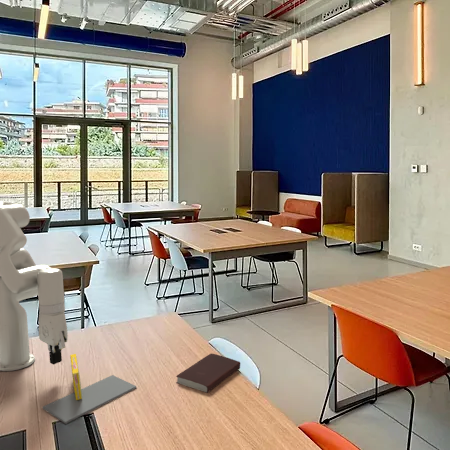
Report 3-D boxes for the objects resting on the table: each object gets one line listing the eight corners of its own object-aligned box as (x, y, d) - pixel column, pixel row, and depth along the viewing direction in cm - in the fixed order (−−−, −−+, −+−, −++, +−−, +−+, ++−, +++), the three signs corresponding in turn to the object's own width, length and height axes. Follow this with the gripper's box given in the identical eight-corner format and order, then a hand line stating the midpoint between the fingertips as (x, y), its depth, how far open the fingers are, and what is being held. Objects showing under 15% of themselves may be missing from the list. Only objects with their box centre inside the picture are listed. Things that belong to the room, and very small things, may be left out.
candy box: (72, 379, 140) (70, 354, 140) (79, 377, 141) (77, 353, 140) (74, 400, 125) (72, 373, 125) (82, 399, 126) (79, 371, 125)
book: (240, 369, 146) (240, 360, 146) (207, 395, 130) (207, 384, 130) (210, 361, 153) (210, 352, 153) (175, 384, 137) (175, 374, 137)
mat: (42, 408, 123) (42, 406, 123) (112, 376, 142) (112, 375, 142) (65, 423, 116) (65, 421, 116) (136, 388, 134) (136, 386, 134)
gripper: (29, 306, 140) (33, 360, 142) (53, 315, 130) (57, 373, 132) (50, 300, 145) (54, 352, 148) (75, 308, 136) (79, 364, 138)
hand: (55, 362), depth 140 cm, fingers closed
